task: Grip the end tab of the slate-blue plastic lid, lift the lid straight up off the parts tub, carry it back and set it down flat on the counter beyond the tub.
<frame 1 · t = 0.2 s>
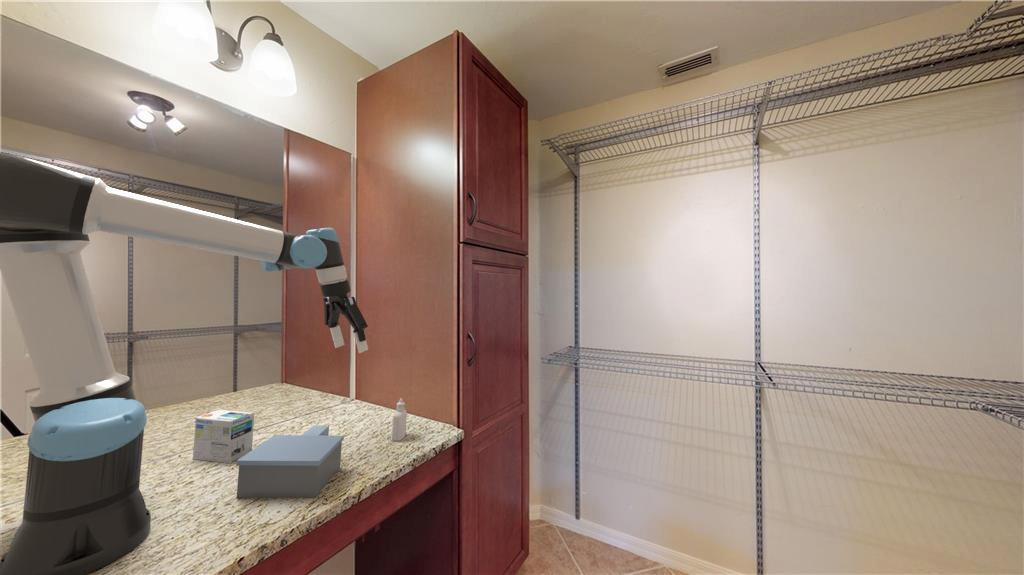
hand: (351, 348, 100), 27 cm above the countertop, tool tilted 15°, fingers open, 13 cm apart
tub: (292, 481, 75), on the countertop
eye dropper bottle: (398, 438, 101), on the countertop
light bulb box: (222, 456, 85), on the countertop
lid: (295, 451, 75), point 7 cm above the countertop, touching tub
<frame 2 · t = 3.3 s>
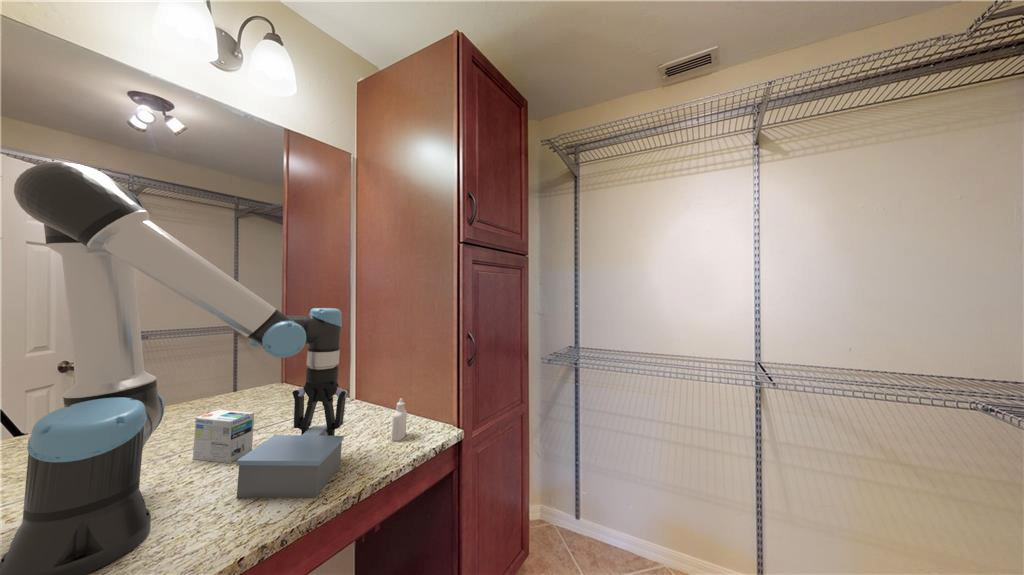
hand: (316, 454, 86), 1 cm above the countertop, tool pointing down, fingers closed on lid, 4 cm apart
lid: (295, 451, 75), point 7 cm above the countertop, touching gripper, tub
everything else where it was.
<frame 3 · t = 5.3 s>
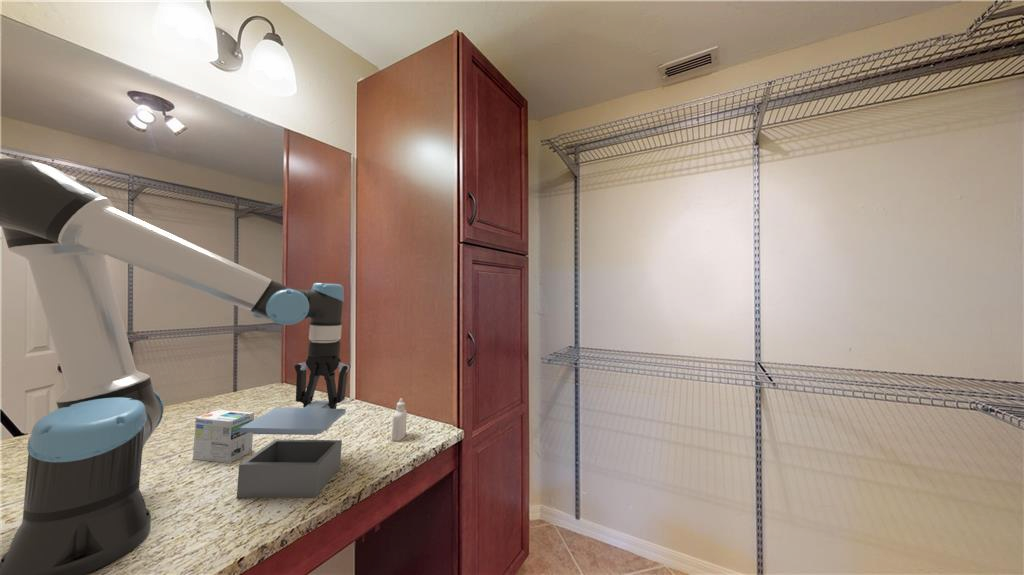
hand: (318, 428, 86), 8 cm above the countertop, tool pointing down, fingers closed on lid, 4 cm apart
lid: (297, 421, 76), point 14 cm above the countertop, touching gripper
everything else where it was.
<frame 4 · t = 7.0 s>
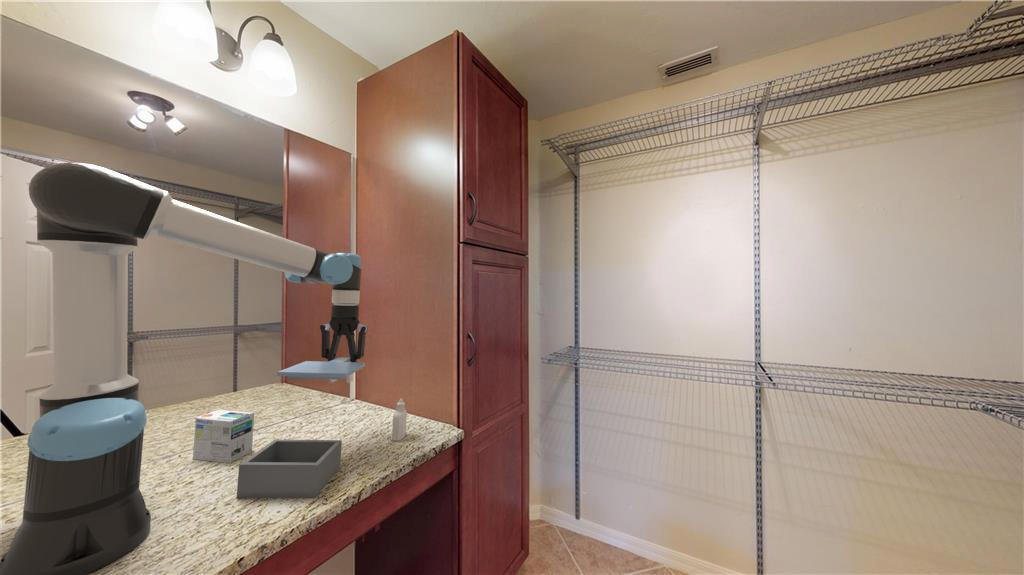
hand: (341, 381, 98), 17 cm above the countertop, tool pointing down, fingers closed on lid, 4 cm apart
lid: (324, 370, 87), point 23 cm above the countertop, touching gripper
everything else where it was.
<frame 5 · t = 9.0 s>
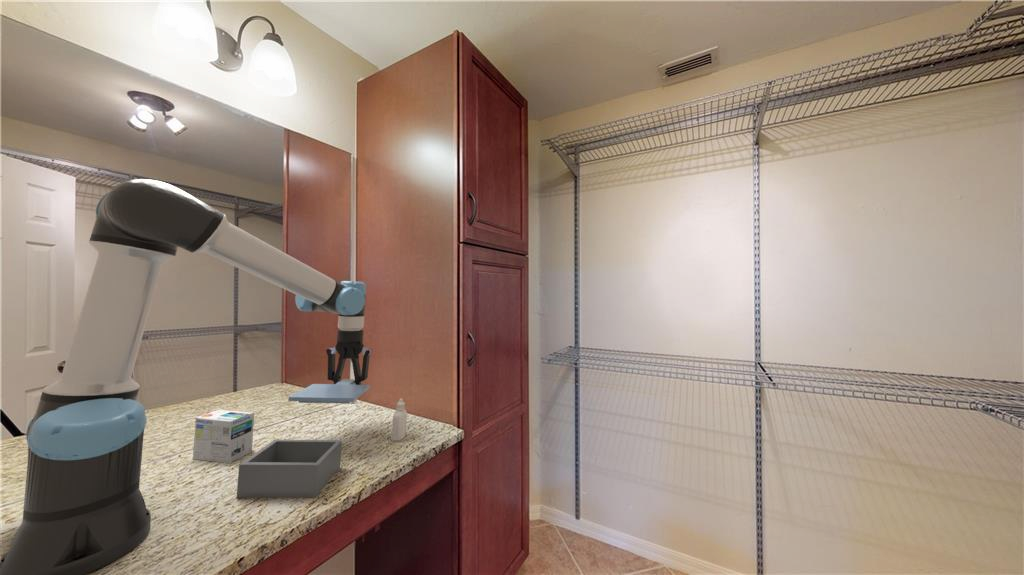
hand: (346, 402, 103), 9 cm above the countertop, tool pointing down, fingers closed on lid, 4 cm apart
lid: (331, 394, 93), point 15 cm above the countertop, touching gripper
everything else where it was.
when the fingers open (1 cm above the countertop, at t = 10.7 s): lid drops 6 cm, point 1 cm above the countertop.
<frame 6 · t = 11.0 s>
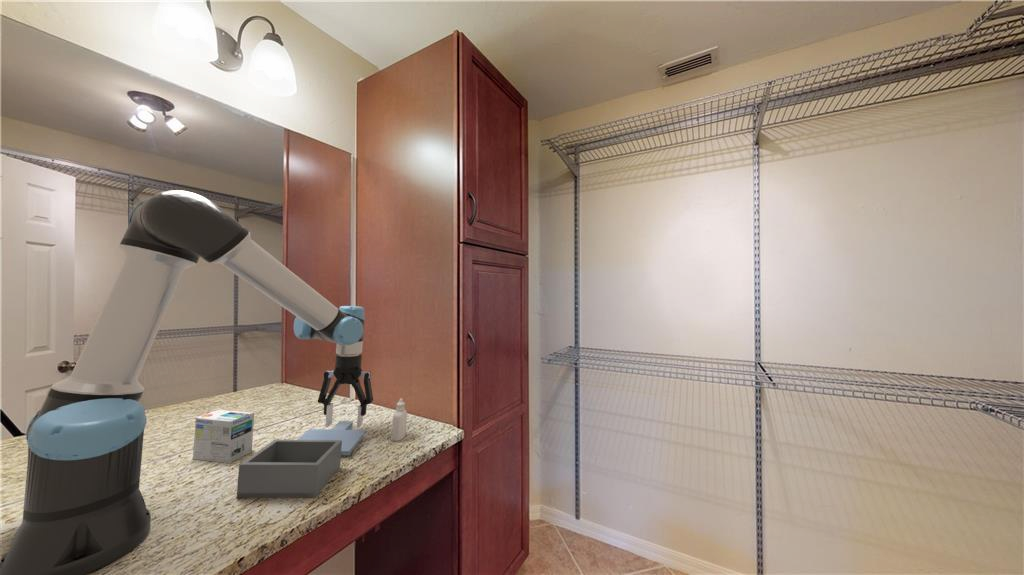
hand: (344, 425, 103), 2 cm above the countertop, tool pointing down, fingers open, 9 cm apart
lid: (327, 443, 92), point 1 cm above the countertop
everything else where it was.
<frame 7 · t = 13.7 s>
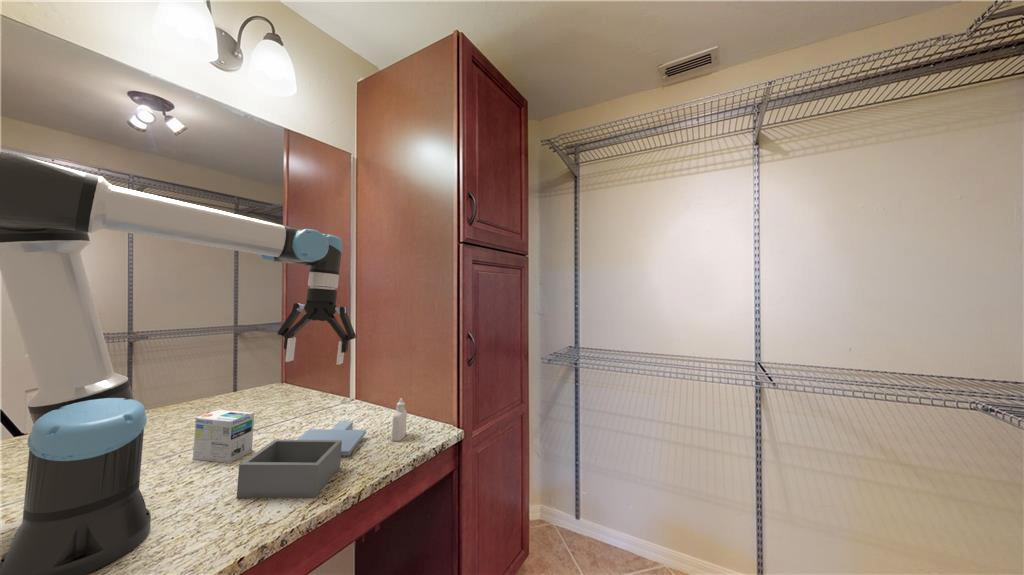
hand: (314, 362, 92), 24 cm above the countertop, tool pointing down, fingers open, 13 cm apart
nothing on the countertop moved.
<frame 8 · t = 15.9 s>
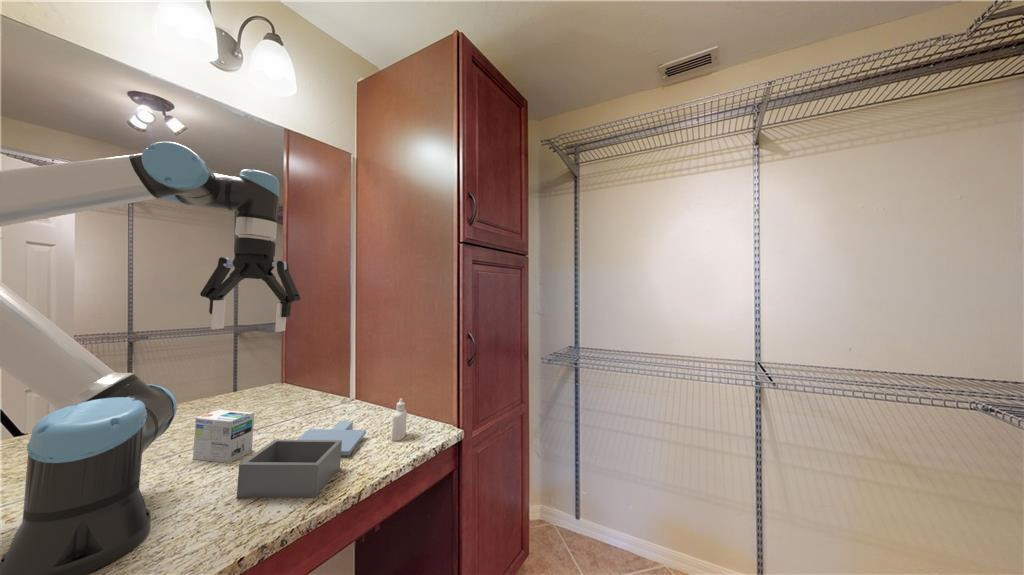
hand: (249, 330, 75), 35 cm above the countertop, tool pointing down, fingers open, 13 cm apart
nothing on the countertop moved.
at the end: lid touching countertop; lid inside the target area (1.3 cm from its centre), point 1.1 cm above the countertop; the gripper is holding nothing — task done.
